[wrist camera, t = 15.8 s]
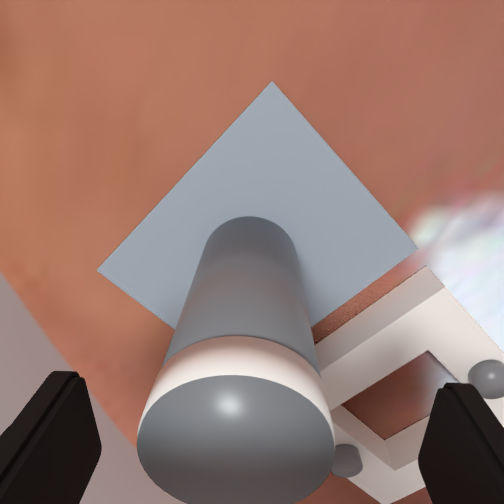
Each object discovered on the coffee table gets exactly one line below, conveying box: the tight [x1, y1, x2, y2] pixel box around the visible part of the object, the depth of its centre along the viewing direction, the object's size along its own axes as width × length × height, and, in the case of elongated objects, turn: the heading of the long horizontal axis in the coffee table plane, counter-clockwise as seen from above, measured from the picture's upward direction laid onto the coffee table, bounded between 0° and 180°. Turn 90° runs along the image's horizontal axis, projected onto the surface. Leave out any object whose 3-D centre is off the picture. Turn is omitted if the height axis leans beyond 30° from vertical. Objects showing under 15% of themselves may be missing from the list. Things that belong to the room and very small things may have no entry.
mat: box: [97, 81, 419, 330], centre depth 17 cm, size 10×12×1 cm
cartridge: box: [137, 216, 335, 504], centre depth 13 cm, size 5×5×10 cm
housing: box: [314, 266, 504, 504], centre depth 20 cm, size 12×12×3 cm
